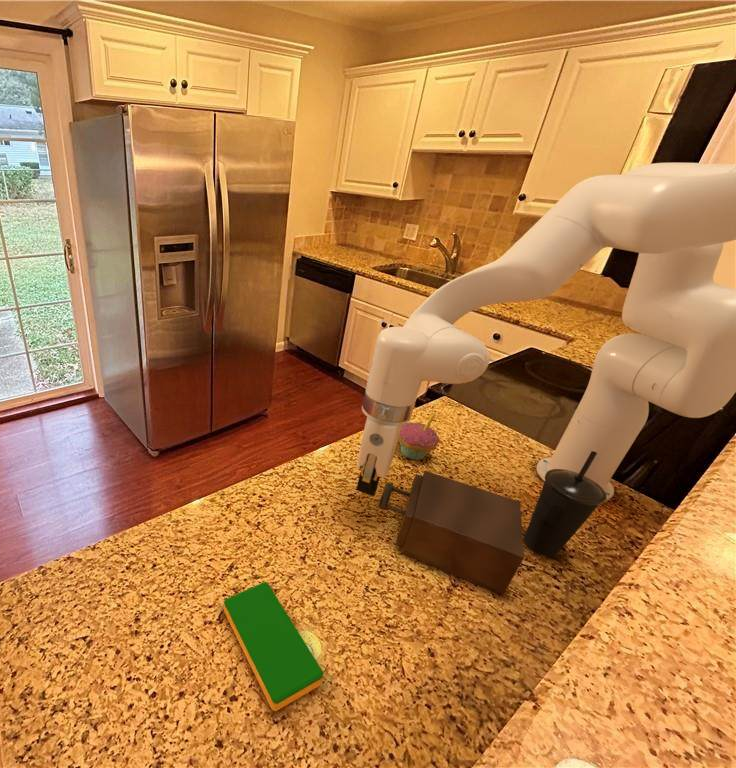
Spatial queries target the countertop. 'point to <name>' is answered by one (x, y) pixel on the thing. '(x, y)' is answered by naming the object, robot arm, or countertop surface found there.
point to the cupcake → (418, 439)
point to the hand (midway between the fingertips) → (366, 490)
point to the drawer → (409, 507)
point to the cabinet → (466, 532)
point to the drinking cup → (562, 508)
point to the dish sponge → (272, 646)
